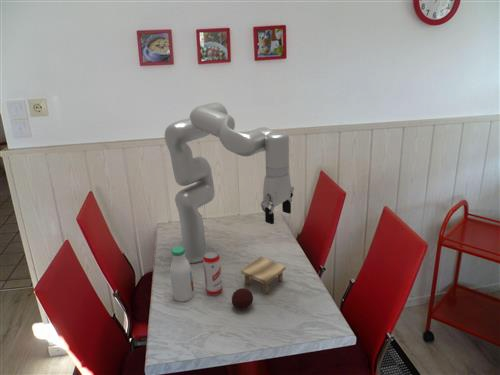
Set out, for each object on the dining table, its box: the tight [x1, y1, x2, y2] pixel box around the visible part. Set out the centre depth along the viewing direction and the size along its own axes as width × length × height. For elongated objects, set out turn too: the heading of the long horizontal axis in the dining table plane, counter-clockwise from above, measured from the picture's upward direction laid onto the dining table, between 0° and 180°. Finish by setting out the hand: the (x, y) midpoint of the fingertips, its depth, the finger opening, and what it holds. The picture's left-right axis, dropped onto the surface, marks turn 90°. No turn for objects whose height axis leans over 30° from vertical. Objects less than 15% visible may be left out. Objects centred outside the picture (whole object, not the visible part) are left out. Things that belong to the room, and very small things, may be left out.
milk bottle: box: [169, 245, 195, 303], centre depth 149 cm, size 8×8×20 cm
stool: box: [240, 256, 286, 295], centre depth 156 cm, size 12×12×6 cm
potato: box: [231, 287, 254, 310], centre depth 144 cm, size 7×8×7 cm
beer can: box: [202, 250, 223, 296], centre depth 151 cm, size 6×6×16 cm
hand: (278, 217), depth 139 cm, fingers open, 9 cm apart
